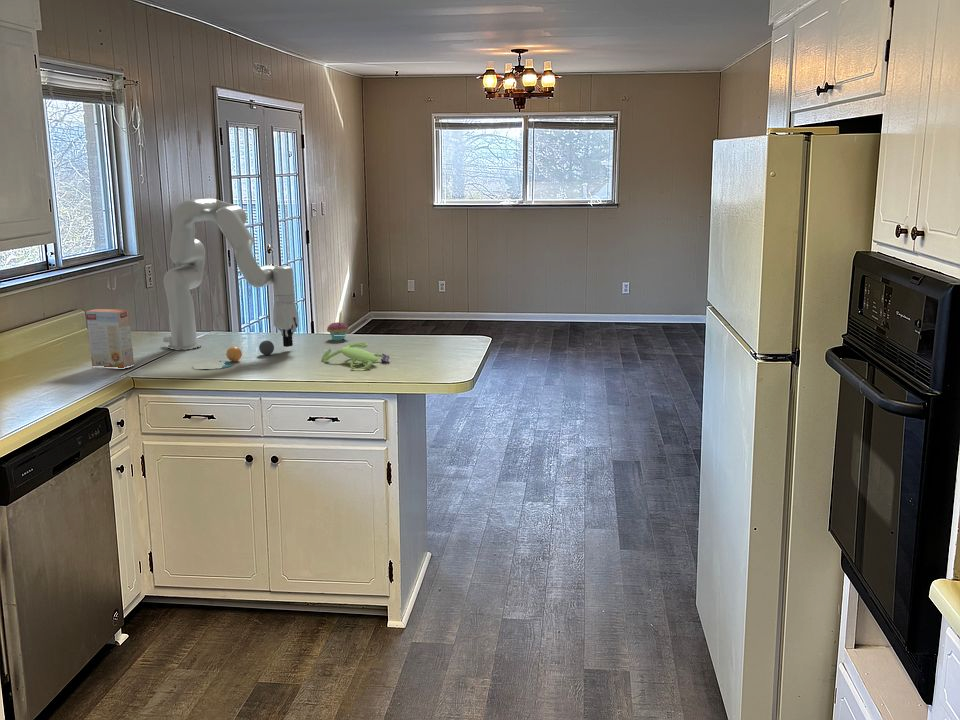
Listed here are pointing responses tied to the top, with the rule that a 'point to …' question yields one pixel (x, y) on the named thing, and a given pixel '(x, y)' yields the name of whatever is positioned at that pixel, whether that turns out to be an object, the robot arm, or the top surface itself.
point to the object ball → (234, 354)
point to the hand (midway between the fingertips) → (288, 346)
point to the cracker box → (110, 338)
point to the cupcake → (337, 329)
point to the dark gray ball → (266, 347)
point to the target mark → (227, 364)
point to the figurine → (357, 355)
